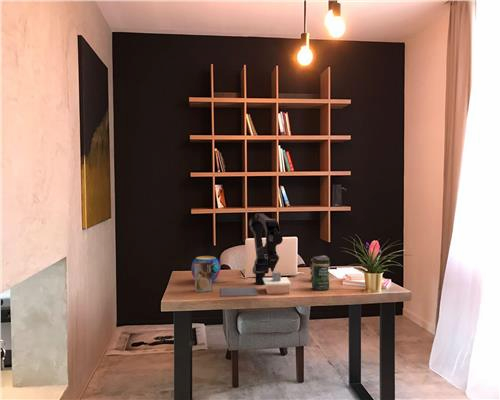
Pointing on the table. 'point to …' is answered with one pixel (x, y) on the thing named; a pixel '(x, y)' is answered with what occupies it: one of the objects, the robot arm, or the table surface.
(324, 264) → the coffee jar
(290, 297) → the table surface
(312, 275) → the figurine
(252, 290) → the mat
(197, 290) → the coffee box
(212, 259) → the ceramic pot
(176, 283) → the table surface
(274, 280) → the lid
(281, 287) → the open box
